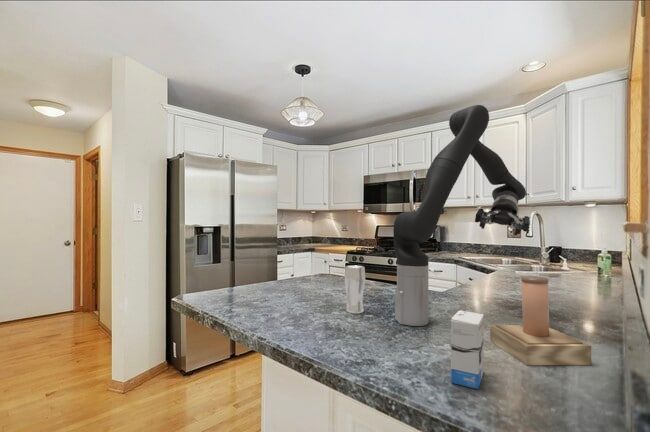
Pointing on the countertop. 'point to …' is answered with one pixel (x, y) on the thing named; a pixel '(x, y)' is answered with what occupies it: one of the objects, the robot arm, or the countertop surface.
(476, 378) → the ink box
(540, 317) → the canister
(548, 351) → the base block
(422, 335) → the countertop surface
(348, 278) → the beer glass
